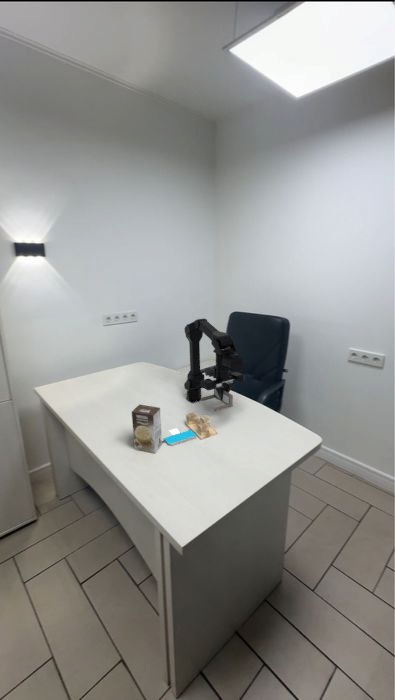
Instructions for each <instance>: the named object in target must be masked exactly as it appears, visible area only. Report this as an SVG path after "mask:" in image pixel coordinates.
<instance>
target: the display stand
mask: <svg viewBox="0 0 395 700" xmlns="http://www.w3.org/2000/svg"><path fill="white" fill-rule="evenodd" d="M185 415H186V417H185V419H186V421H185V422H184V425H185V426H186V427H187V428H188V429H189V430H191V431H192V432H193V433H194V434H195V435H196V438H198V439H199V440H205V439H207V438H210V437H214V436H217V435H218V430H216V429H215V428H214V427H213V426H211V417H210V416H209V415H207V414H204V415H202V416H200V417H199V418H197V416H198V415H197V414H196V413H195V412H193V411H192V412H189V413H186V414H185Z"/></svg>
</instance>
